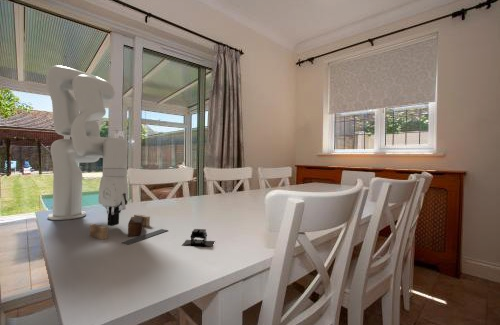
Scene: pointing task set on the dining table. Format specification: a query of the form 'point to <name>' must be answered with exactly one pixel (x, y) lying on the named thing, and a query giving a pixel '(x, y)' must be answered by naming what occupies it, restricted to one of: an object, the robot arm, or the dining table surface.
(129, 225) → the brick
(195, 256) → the dining table surface
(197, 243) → the black arch bracket
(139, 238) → the dark grey flat strip
